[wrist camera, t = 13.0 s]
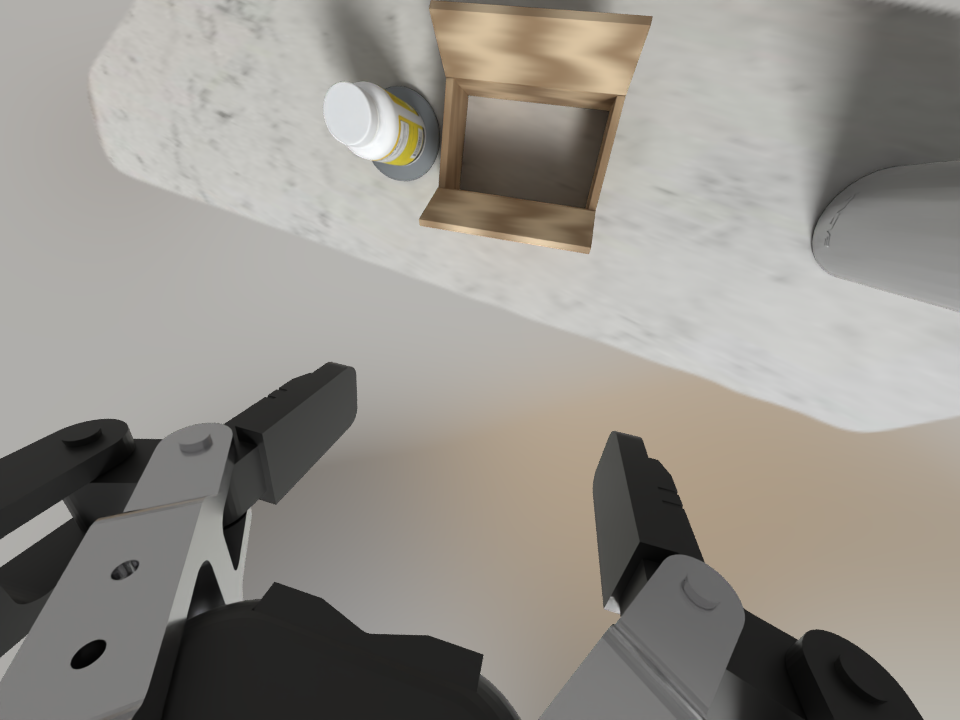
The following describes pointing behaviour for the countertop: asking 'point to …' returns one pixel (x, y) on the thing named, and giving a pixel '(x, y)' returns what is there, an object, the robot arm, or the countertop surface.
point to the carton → (530, 78)
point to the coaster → (432, 138)
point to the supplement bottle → (374, 123)
